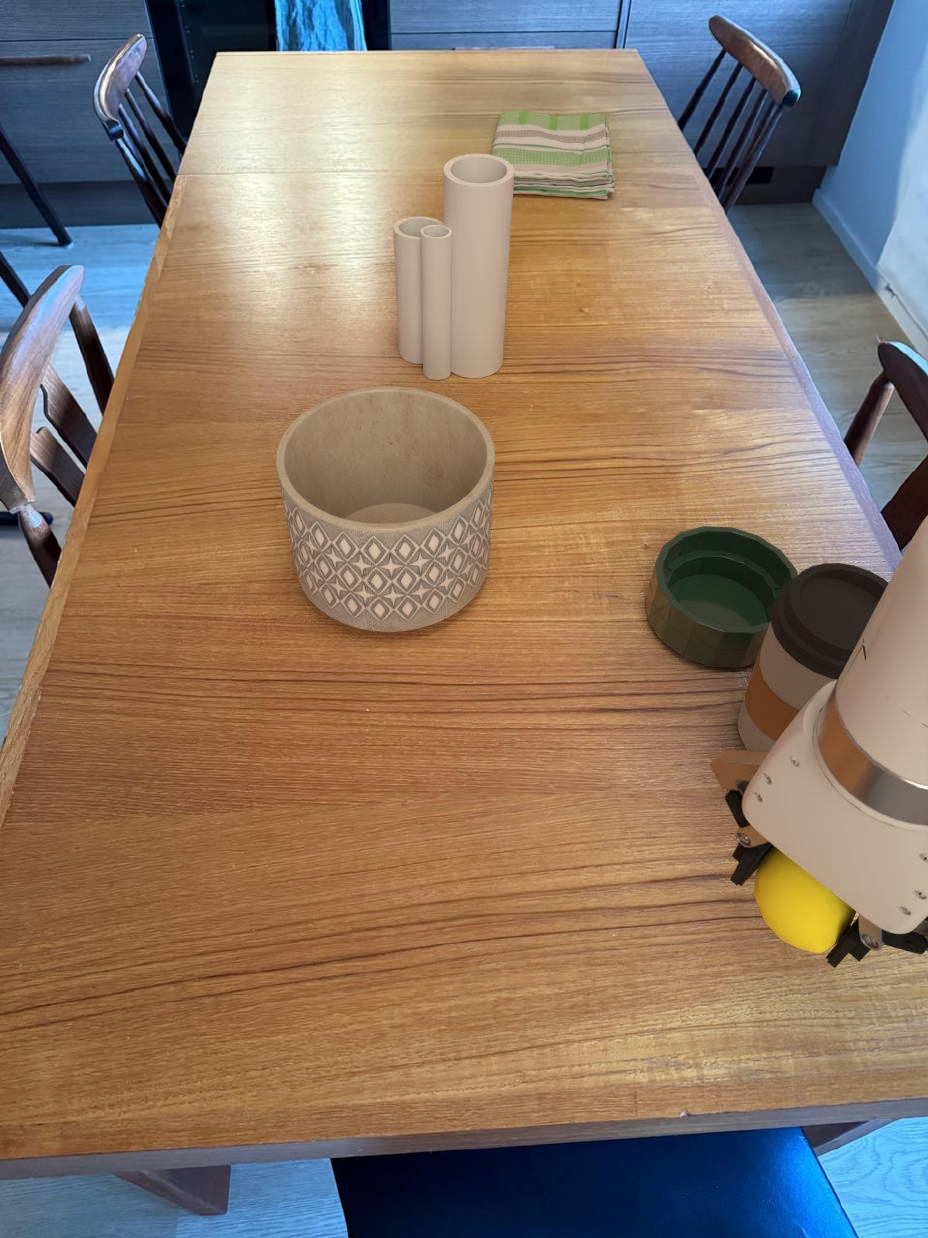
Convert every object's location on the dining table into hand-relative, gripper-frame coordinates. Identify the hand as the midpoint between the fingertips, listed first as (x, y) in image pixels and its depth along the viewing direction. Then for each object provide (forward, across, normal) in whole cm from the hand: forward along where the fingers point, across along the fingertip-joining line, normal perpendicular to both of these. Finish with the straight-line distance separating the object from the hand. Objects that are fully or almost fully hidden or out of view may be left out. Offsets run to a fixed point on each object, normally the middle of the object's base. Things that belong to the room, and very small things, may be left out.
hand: (795, 905), depth 53 cm
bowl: (+5, +19, -19) cm, 27 cm away
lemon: (+1, 0, 0) cm, 1 cm away
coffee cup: (+6, +9, -13) cm, 17 cm away
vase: (+4, +60, -27) cm, 66 cm away
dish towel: (+3, +86, -70) cm, 111 cm away
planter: (+5, +41, -3) cm, 41 cm away
